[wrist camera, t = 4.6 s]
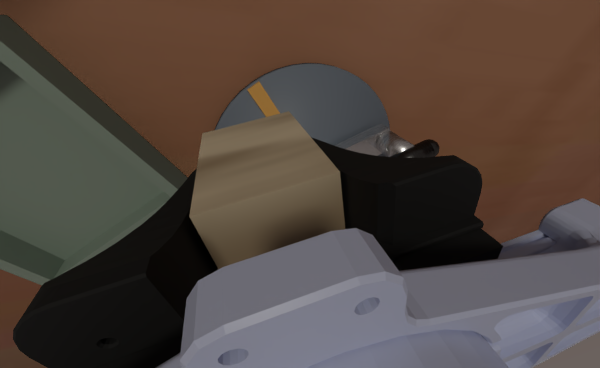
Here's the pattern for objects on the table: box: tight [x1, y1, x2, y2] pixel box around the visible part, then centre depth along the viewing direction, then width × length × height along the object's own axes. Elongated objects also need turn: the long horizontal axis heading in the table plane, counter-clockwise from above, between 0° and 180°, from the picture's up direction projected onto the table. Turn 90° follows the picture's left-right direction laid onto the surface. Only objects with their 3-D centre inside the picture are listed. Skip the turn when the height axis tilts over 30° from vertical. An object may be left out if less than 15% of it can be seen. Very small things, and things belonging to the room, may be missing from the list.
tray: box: [0, 15, 187, 285], centre depth 16 cm, size 13×13×2 cm
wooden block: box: [189, 111, 345, 269], centre depth 10 cm, size 4×4×6 cm
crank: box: [334, 123, 439, 158], centre depth 20 cm, size 10×4×5 cm, turn 110°
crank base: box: [215, 63, 390, 157], centre depth 22 cm, size 16×16×1 cm
